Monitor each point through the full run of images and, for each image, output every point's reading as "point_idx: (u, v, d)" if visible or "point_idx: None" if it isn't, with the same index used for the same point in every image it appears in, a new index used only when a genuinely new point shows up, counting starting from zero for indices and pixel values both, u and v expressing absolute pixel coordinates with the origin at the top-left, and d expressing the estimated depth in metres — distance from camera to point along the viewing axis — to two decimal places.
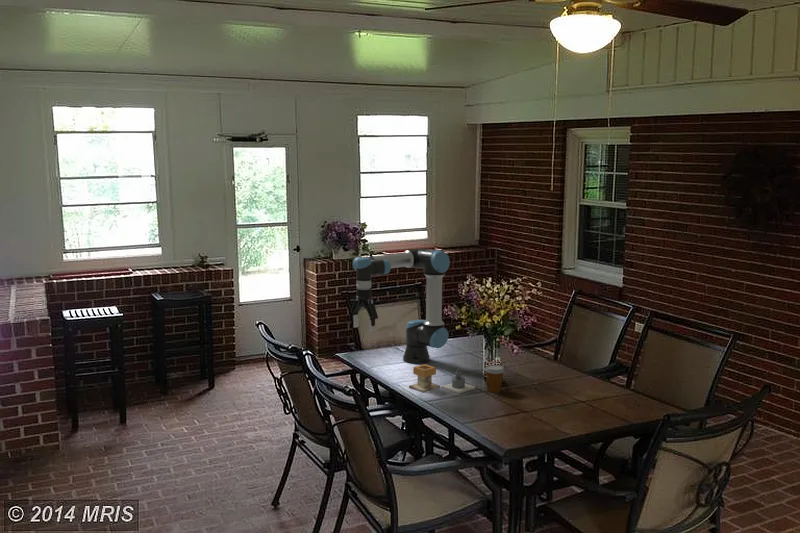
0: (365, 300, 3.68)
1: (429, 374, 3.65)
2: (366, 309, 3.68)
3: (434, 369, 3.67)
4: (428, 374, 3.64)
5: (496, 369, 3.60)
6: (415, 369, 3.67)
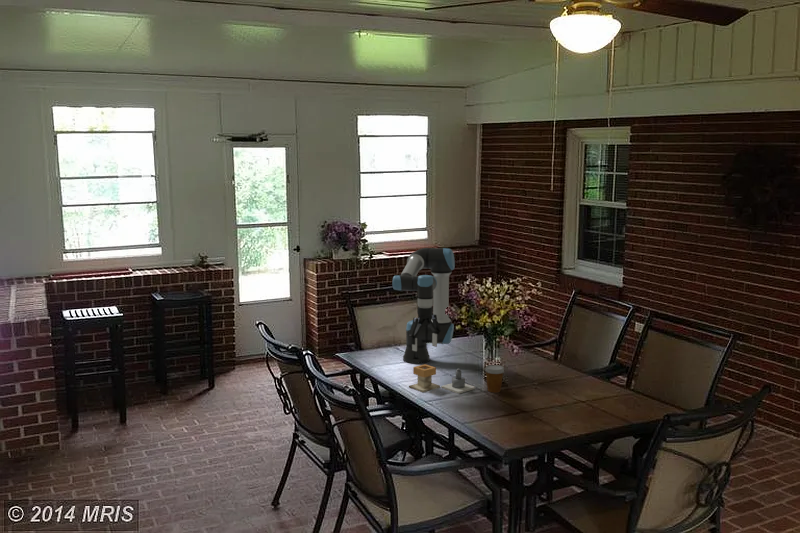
0: None
1: (429, 374, 3.65)
2: None
3: (434, 369, 3.67)
4: (428, 374, 3.64)
5: (496, 369, 3.60)
6: (415, 369, 3.67)
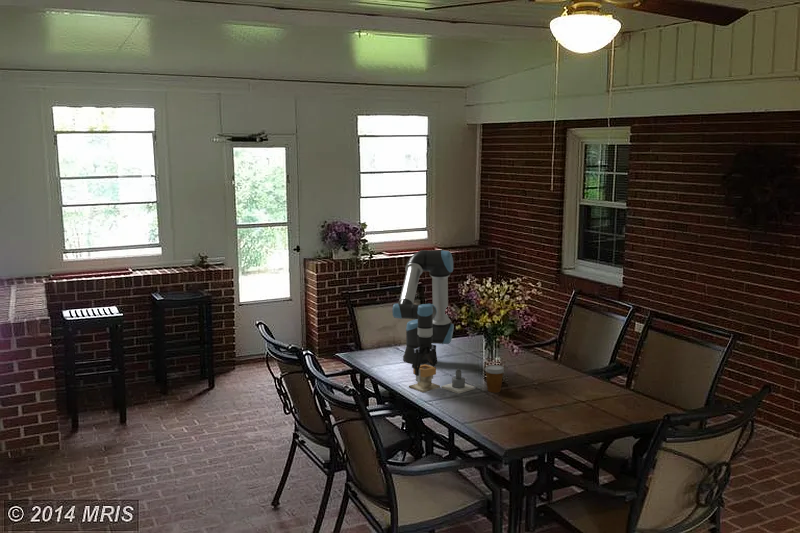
0: None
1: (429, 374, 3.65)
2: None
3: (434, 369, 3.67)
4: (428, 374, 3.64)
5: (496, 369, 3.60)
6: None
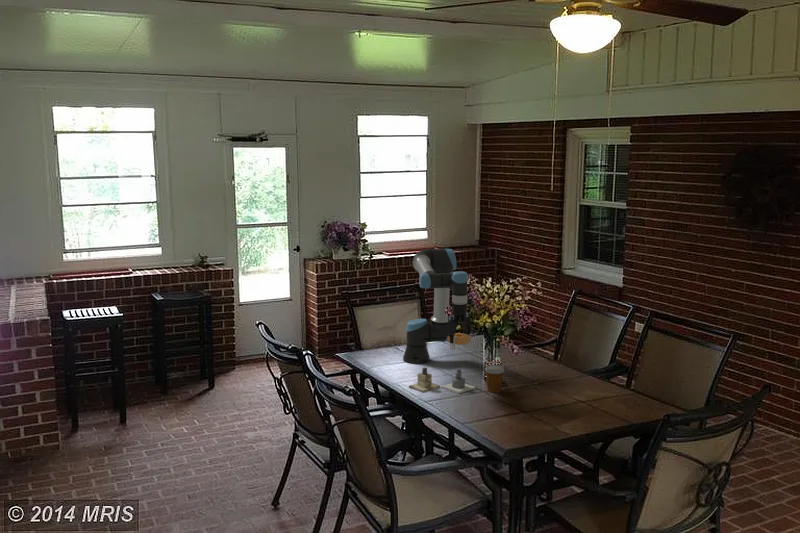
0: None
1: (464, 342, 3.61)
2: None
3: (469, 337, 3.63)
4: (463, 342, 3.61)
5: (496, 369, 3.60)
6: (449, 337, 3.63)
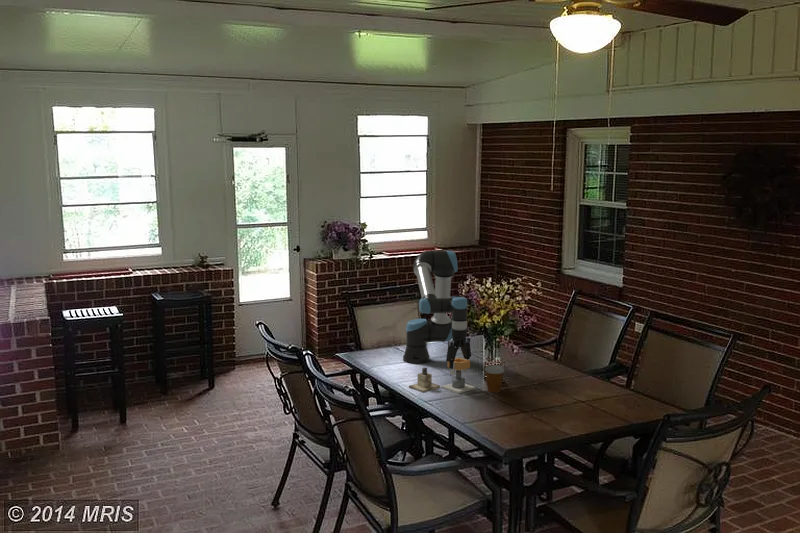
0: None
1: (463, 367, 3.63)
2: None
3: (468, 362, 3.65)
4: (463, 367, 3.62)
5: (496, 369, 3.60)
6: None
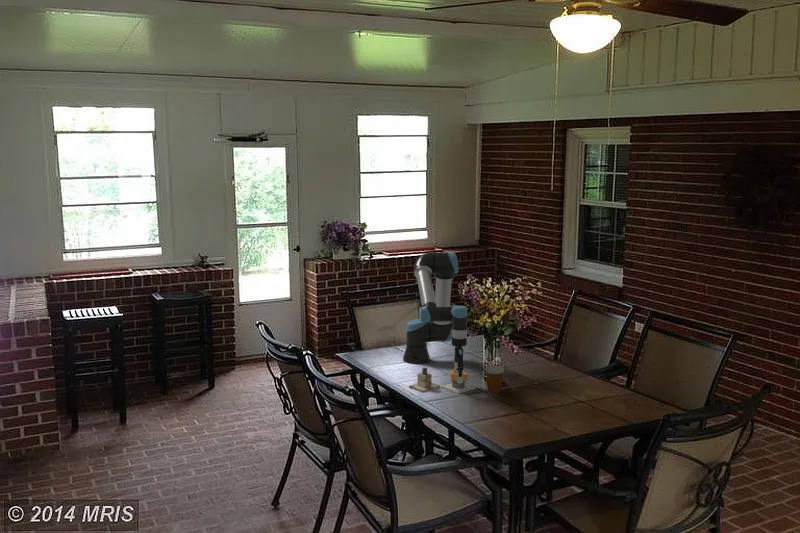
0: (457, 349, 3.62)
1: None
2: (457, 359, 3.62)
3: None
4: None
5: (496, 369, 3.60)
6: (454, 376, 3.63)
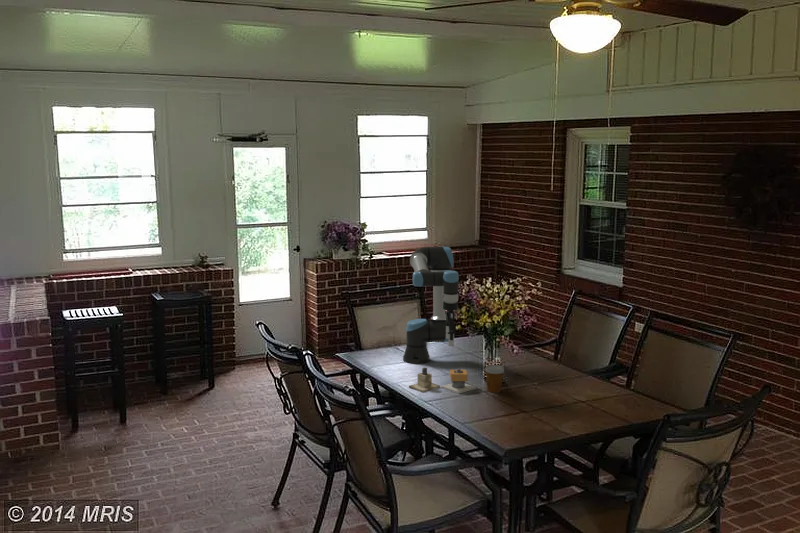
0: (448, 313, 3.69)
1: None
2: (448, 322, 3.69)
3: None
4: None
5: (496, 369, 3.60)
6: (454, 376, 3.63)
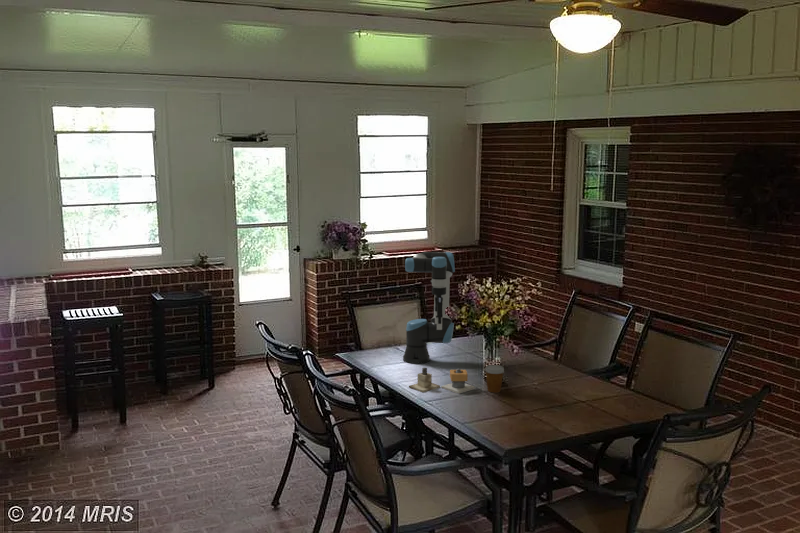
0: (437, 298, 3.80)
1: None
2: None
3: None
4: None
5: (496, 369, 3.60)
6: (454, 376, 3.63)
